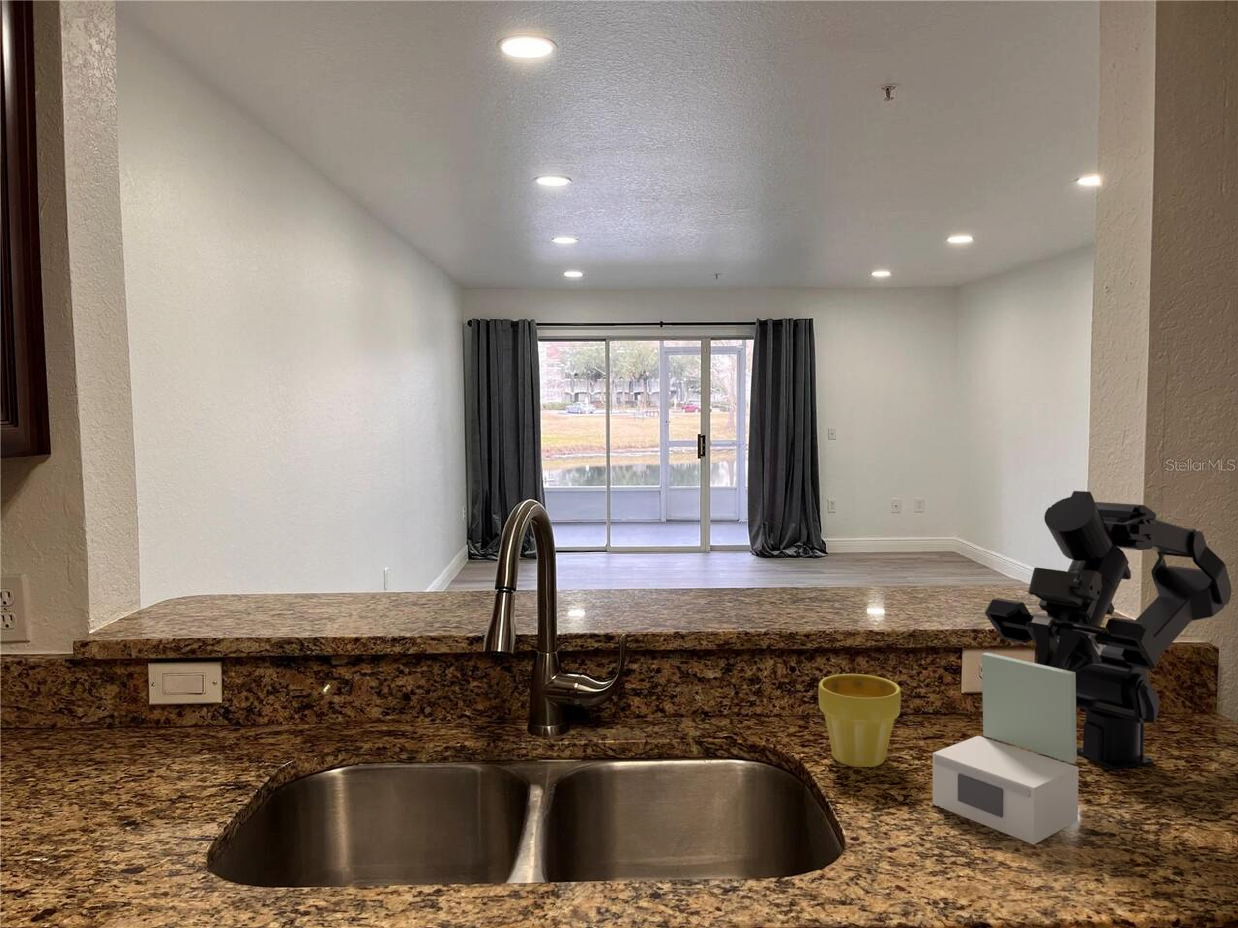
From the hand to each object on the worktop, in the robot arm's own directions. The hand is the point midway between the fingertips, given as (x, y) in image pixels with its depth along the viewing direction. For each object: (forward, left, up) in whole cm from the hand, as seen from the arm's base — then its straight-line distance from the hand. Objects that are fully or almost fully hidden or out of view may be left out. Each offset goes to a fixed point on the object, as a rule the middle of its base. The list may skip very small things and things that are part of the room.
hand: (1041, 689), depth 101 cm
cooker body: (+7, +3, -13) cm, 15 cm away
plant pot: (+14, -16, -13) cm, 25 cm away
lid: (+3, +1, -1) cm, 4 cm away
